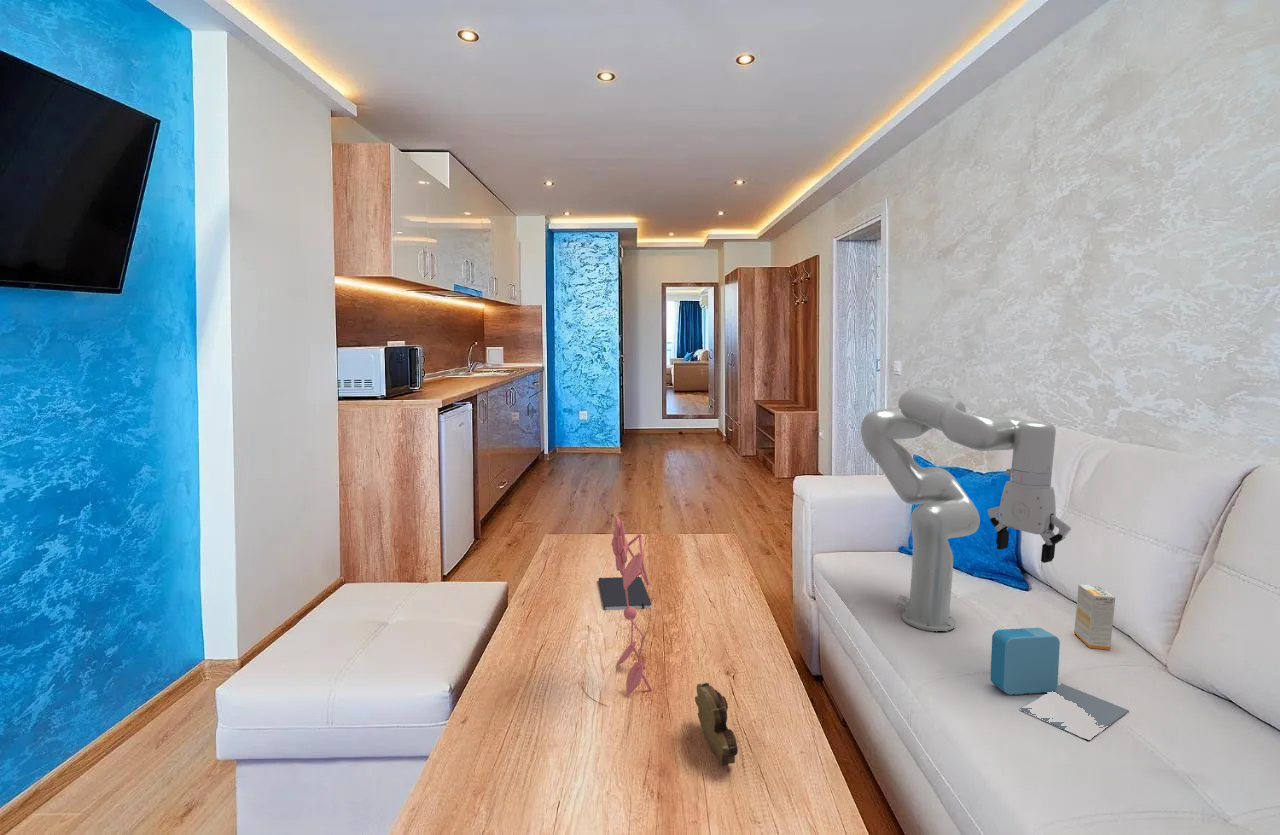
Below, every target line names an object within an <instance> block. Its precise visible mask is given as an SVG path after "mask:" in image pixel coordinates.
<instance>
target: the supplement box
mask: <svg viewBox="0 0 1280 835" xmlns="http://www.w3.org/2000/svg"><path fill="white" fill-rule="evenodd" d="M1076 598H1077V599H1076V609H1075V618H1074V628H1073V629H1074V631H1073V634H1074V633H1075V634H1076V635H1077V636H1078V637H1079V638H1080V639H1079V638H1078V637H1077V636H1076V635H1075V634H1074V635H1075V636H1076V637H1077V638H1078V639H1079V640H1080V641H1082V642H1083V643H1084V644H1085V645H1086V646H1087V647H1088V648H1090V649H1095V650H1096V649H1097V650H1107V651H1108V650H1109V651H1111V644H1112V637H1113V636H1112V635H1113V624H1114V613H1115V602H1116V597H1115V595H1112V594H1111V593H1110V592H1108V591H1107V590H1105V589H1104V588H1103V587H1102V586H1100V585H1095V584H1080V583H1079V584H1078V588H1077V596H1076Z"/></svg>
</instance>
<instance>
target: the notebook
mask: <svg viewBox="0 0 1280 835" xmlns="http://www.w3.org/2000/svg"><path fill="white" fill-rule="evenodd" d="M598 586H599V590H600V595H601V596H600V597H601V599H602V600H601V601H602V604H603V609H604V611H607V610H608V611H611V610H625V608H626V607H627V602H626V594H625V589H624V586H623V578H622V576H620V577H619V576H617V577H615V576H614V577H598ZM627 591H628V603H629V607H630V606H631V607H634V608H635V610H636V609H637V610H638V609H642V610H643V609H650V608H651V607H652V601H651V599H650V596H649V594H648V591H647V589H646V586H645V582H644V581H643V577H641V576H637V577H636V579H635V580H634V581H633V582H632V583H631V584H630V586H629V587H628V588H627Z"/></svg>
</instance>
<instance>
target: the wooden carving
mask: <svg viewBox="0 0 1280 835" xmlns="http://www.w3.org/2000/svg"><path fill="white" fill-rule="evenodd" d="M696 695H697V696H695V697H694V701H695V703H696V706H697V710H698V713H697V717H698V720H699V723H700V726H701V729H702V732H703V734H704V738H705V740H706V743H707V745H708V747H709V749H710V750H711V752H712V753H714V754H715V755H716V757H717V759H718V763H719V764H720V766H722V767H724V766H728V765H729V764H734V763H735V762H736V756H737V755H738V752H739V751H738V750H739V748H738V744H737V743H738V742H737V738H736V736H735V733H734V731H733V730H732V729H730V728H728V726H727V722H728V709H729V706H728V701H727V698H726V697H725V696H724V695H722V694H721V692H720V691H718V690H716V689H715V688H714V687H713V686H712V685H710V683H709V682H706V683H705V682H703V683H698V684H696Z"/></svg>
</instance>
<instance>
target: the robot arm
mask: <svg viewBox="0 0 1280 835" xmlns="http://www.w3.org/2000/svg"><path fill="white" fill-rule="evenodd" d="M932 429H935V430H938V431H941V432H942V433H943V435H944V436H945V437H946V438H947V439H948V440H950V441H951V442H953V443H956V444H959V445H960V446H964V447H966V448H969V449H972V450H975V451H981V452H989V451H990V452H992V451H1008V450H1009V451H1011V450H1012V457H1011V467H1010V469H1009V468H1007V469H1005V475H1006V476H1009V480H1006V482H1005V485H1004V487H1003V491H1002V493H1001V499H1000V502H999V505H997V506H995V507H991V508H988V509H987V515H988V516H989V519H990V520H989V521H990V522H991V524H992V526H993V527H994V530H995V531H996V538H995V540H996V541H995V542H996V549H997V550H999V551H1001V550H1004V549H1008V547H1009V538H1010V531H1009V530H1008V529H1009V528H1011V529H1014V530H1018V531H1021V532H1025V533H1029V534H1032V535H1033V534H1034V535H1040V537H1041V538H1042V540H1043V541H1044V542H1045V543H1043V544H1042V547H1041V556H1040V561H1041V563H1044V564H1046V563H1051V562H1053V559H1054V558H1055V551H1056V544H1058V543H1059V542H1061V541H1062V540H1065V539H1066V537H1067V535H1068V534H1069V533H1070V532H1071V531H1072V530H1071V529H1072V528H1071V527H1070V526H1069V525H1068V524H1067V523H1065V522H1063V521H1062V520H1061V519H1060V518H1058V517H1057V516H1056V513H1057V512H1056V510H1057V509H1056V508H1057V507H1056V495H1055V489H1054V487H1053V486H1052V478H1053V475H1052V474H1053V465H1054V456H1055V455H1054V453H1055V443H1056V434H1057V433H1056V432H1057V429H1056V427H1055V425H1054V424H1052V423H1050V422H1046V421H1037V420H1036V421H1035V420H1028V419H1024V418H1021V417H1016V416H985V417H983V416H978V415H974V414H972V413H971V414H970V413H968V412H967V408H966V406H965V404H964V402H962V400H960V399H956V398H954V396H953V395H952V394H951V392H950V391H948V390H946V389H944V388H939V387H926V388H925V387H923V388H922V387H918V388H911V389H909V390H906V391H905V392H903V393H902V394H901V395H900V397H899V399H898V408H881V409H875V410H873V411H870V412H868V413H866V414H865V416H864V418H863V419H862V421H861V426H860V436H861V440H862V443H863V446H864V448H865V449H866V451H867V453H868V454H869V455H870V457H871V458H873V460H874V461H875V462H876V464H877V465H878V466H879V468H880V469H881V470H882V472H883V474H884V476H885V477H886V479H887V480H888V482H889V483H890V485H891V487H892V488H893V489H894V491H895V493H896V494H897V496H898V497H899V498H900V499H901V501H902V502H904V503H906V504H908V505H917V506H916V507H915V508H914V509H913V510H912V512H911V516H910V526H911V527H910V528H911V534H912V560H911V562H912V563H911V573H910V574H911V576H910V578H911V579H910V588H909V589H910V591H909V597H907V596H905V595H902V594H900V595H898V598H897V601H896V604H897V605H899V606H901V607H904V610H903V611H902V615H901V618H902V620H903V621H904V622H905V623H907V624H908V625H910V626H911V627H913V628H917V629H919V630H924V631H926V632H927V631H928V632H934V631H936V633H938V632H937V631H946V632H949V631H948V630H951V629H953V628H954V627H955V628H956V620H955V619H954V618H953V617H952V616H951V615H950V613H951V612H950V610H951V609H950V608H951V595H952V585H953V584H952V582H953V573H954V572H953V570H954V554H953V550H952V548H951V546H950V543H949V539H954V538H961V537H967V536H971V535H973V534H974V533H976V532H977V531H978V529H979V527H980V524H981V523H980V522H981V518H980V514H979V511H978V509H977V507H976V506H975V504H974V502H973V501H972V500H971V499H970V497H969V496H968V494H967V493H966V491H965V490H964V489H963V488H962V485H960V483H959V482H958V480H957V479H956V478H955V477H954V476H953V474H952V473H950V472H949V471H948V470H947V469H944V468H941V467H936V466H929V467H922V466H920V465H919V464H918V463H917V462H916V460H915V459H914V458H913V456H912V455H911V453H910V452H909V450H907V449H906V448H905V447H904V446H902V445H901V444H900V443H898V442H897V441H895V440H902V439H903V440H904V439H916V438H918V437H921V436H922V435H924V434H925V433H927V432H929V431H930V430H932ZM1055 527H1056V528H1057V529H1058V532H1057V534H1055V533H1054V530H1055ZM955 628H954V629H955ZM954 629H953V630H954ZM951 631H952V630H951Z"/></svg>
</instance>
